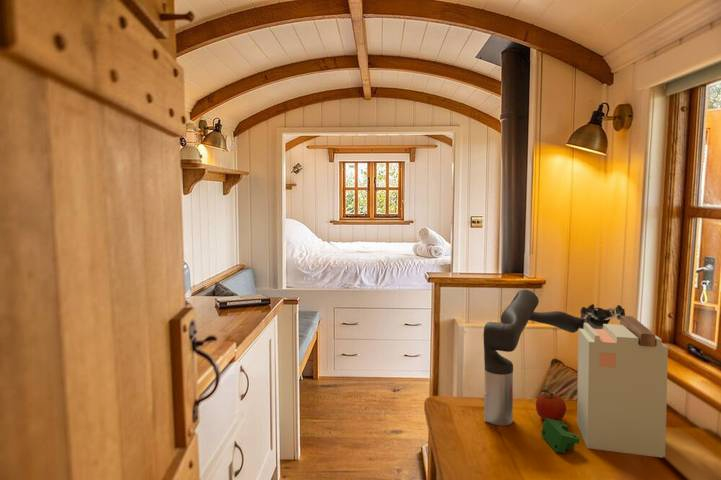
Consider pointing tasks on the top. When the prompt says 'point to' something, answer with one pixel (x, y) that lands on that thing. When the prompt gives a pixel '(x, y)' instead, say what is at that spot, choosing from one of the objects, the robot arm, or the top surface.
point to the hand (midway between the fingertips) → (606, 307)
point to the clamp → (558, 435)
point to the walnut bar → (638, 330)
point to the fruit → (550, 406)
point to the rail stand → (621, 391)
